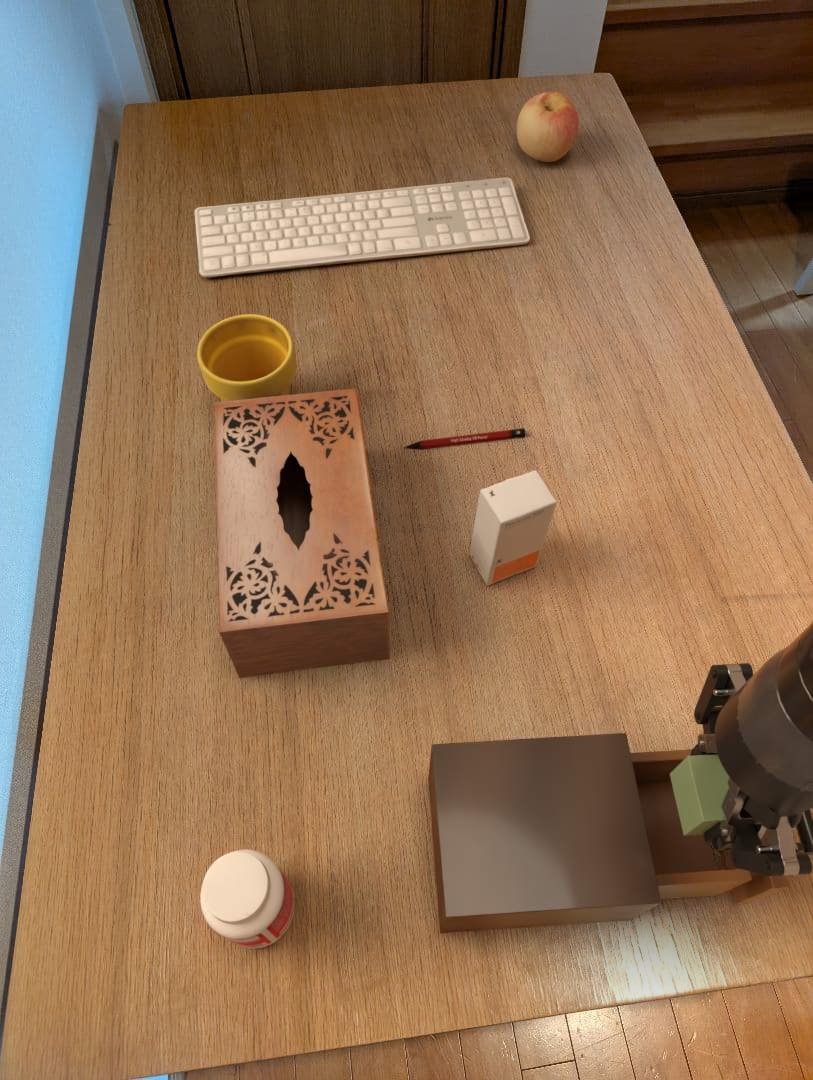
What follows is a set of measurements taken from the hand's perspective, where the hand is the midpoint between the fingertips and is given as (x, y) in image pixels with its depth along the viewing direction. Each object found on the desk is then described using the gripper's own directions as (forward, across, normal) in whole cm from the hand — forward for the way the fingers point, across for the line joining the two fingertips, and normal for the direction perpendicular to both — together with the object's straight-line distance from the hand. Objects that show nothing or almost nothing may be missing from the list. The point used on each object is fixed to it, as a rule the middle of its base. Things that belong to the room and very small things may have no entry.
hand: (708, 800), depth 60 cm
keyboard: (+13, +81, +23) cm, 85 cm away
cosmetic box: (+12, +28, +10) cm, 32 cm away
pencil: (+13, +44, +13) cm, 48 cm away
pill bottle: (+13, -4, +34) cm, 37 cm away
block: (0, 0, 0) cm, 0 cm away
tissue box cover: (+13, +30, +31) cm, 45 cm away
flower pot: (+13, +50, +36) cm, 63 cm away
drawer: (+11, 0, -1) cm, 11 cm away
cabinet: (+12, 0, +12) cm, 17 cm away
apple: (+12, +97, -4) cm, 98 cm away
